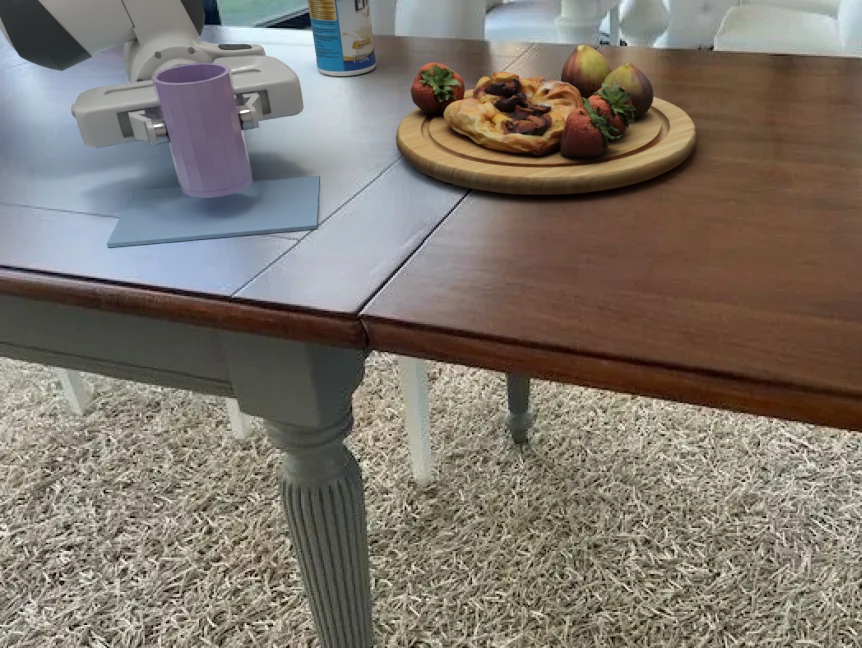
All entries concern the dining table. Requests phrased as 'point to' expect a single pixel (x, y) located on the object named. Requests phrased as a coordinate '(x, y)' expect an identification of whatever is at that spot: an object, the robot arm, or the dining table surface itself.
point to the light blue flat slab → (218, 213)
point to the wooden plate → (544, 129)
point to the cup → (203, 129)
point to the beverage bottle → (342, 36)
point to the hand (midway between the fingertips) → (205, 127)
